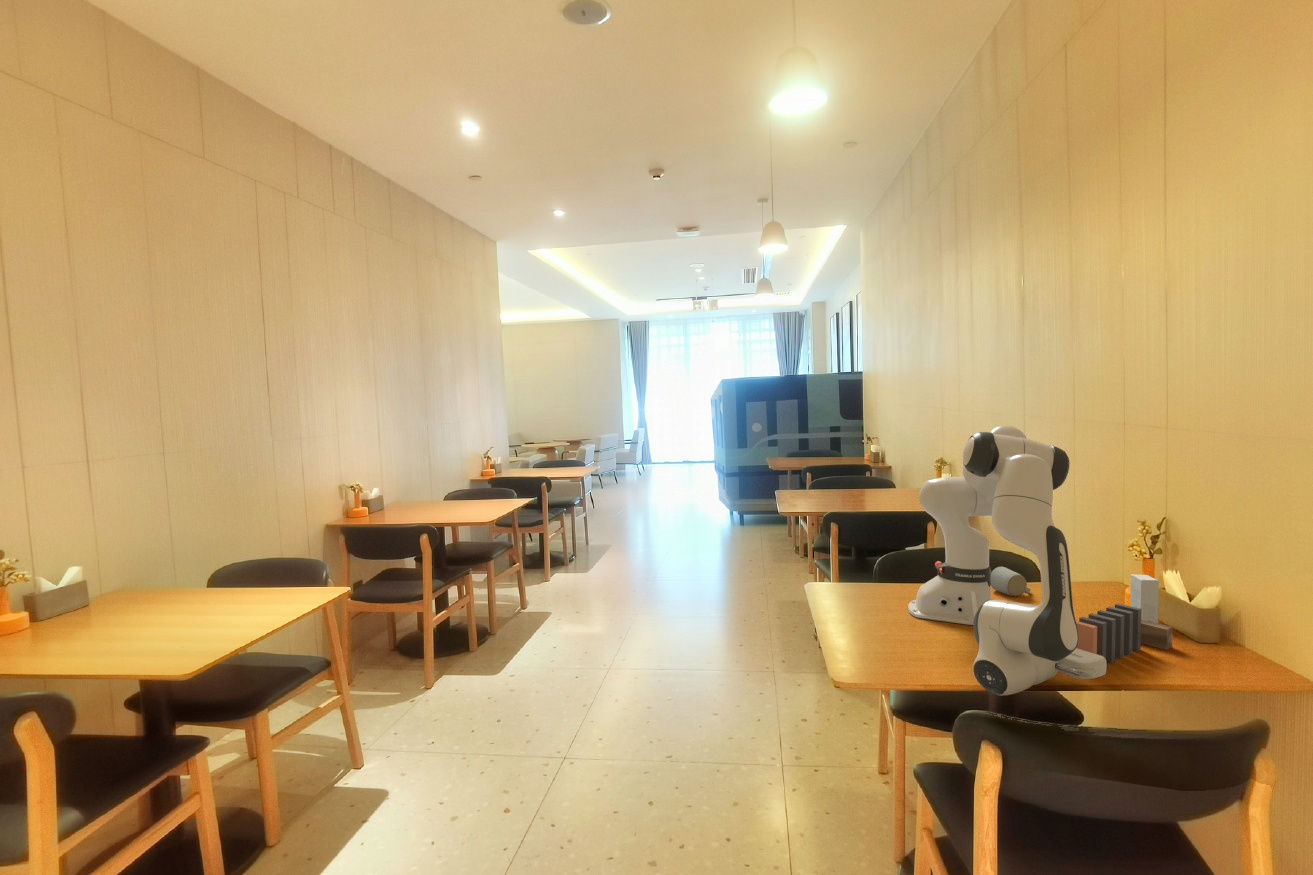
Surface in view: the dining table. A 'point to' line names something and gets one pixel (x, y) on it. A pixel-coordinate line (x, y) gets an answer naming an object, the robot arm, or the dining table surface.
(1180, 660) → the dining table surface
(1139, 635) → the domino
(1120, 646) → the domino
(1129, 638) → the domino
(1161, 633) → the end stop
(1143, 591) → the skincare box
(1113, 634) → the domino
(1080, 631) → the domino
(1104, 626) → the domino
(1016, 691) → the robot arm
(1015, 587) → the ceramic mug
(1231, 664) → the dining table surface
